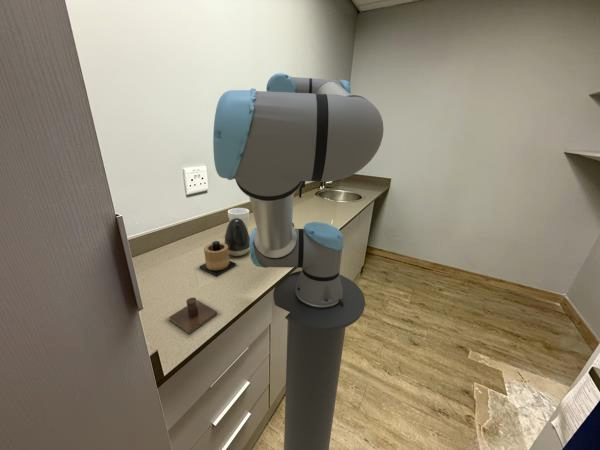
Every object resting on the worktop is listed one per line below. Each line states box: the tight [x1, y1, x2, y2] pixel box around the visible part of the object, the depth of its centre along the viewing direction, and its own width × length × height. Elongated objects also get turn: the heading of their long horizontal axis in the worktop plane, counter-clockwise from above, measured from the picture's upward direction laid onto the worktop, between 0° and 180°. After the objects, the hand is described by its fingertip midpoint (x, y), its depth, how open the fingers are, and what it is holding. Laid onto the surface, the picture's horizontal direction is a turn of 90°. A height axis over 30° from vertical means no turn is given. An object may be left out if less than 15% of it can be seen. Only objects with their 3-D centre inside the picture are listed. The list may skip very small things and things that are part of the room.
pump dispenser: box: [223, 218, 250, 257], centre depth 96 cm, size 10×10×15 cm
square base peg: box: [198, 240, 237, 277], centre depth 87 cm, size 9×9×10 cm
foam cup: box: [227, 207, 250, 230], centre depth 112 cm, size 10×9×13 cm
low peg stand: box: [168, 297, 218, 335], centre depth 63 cm, size 8×8×6 cm
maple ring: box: [203, 242, 230, 270], centre depth 87 cm, size 8×8×7 cm
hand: (280, 196), depth 85 cm, fingers open, 13 cm apart
